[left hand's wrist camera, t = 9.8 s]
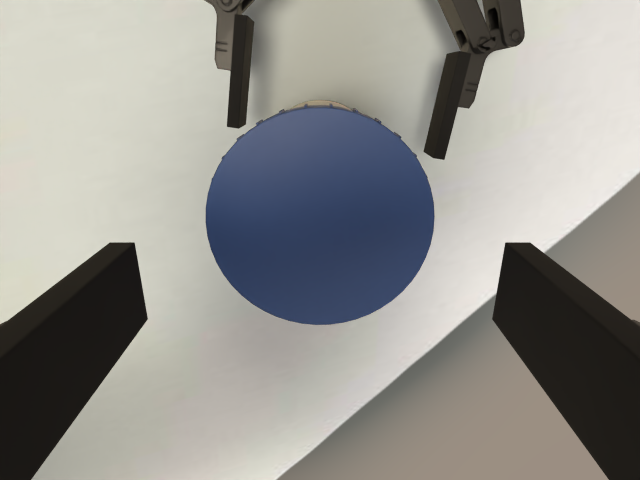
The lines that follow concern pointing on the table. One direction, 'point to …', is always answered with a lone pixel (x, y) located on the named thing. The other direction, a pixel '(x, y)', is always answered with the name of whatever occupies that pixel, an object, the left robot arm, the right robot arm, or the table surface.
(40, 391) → the left robot arm
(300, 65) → the table surface
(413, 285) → the table surface
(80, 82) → the table surface
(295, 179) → the lid
